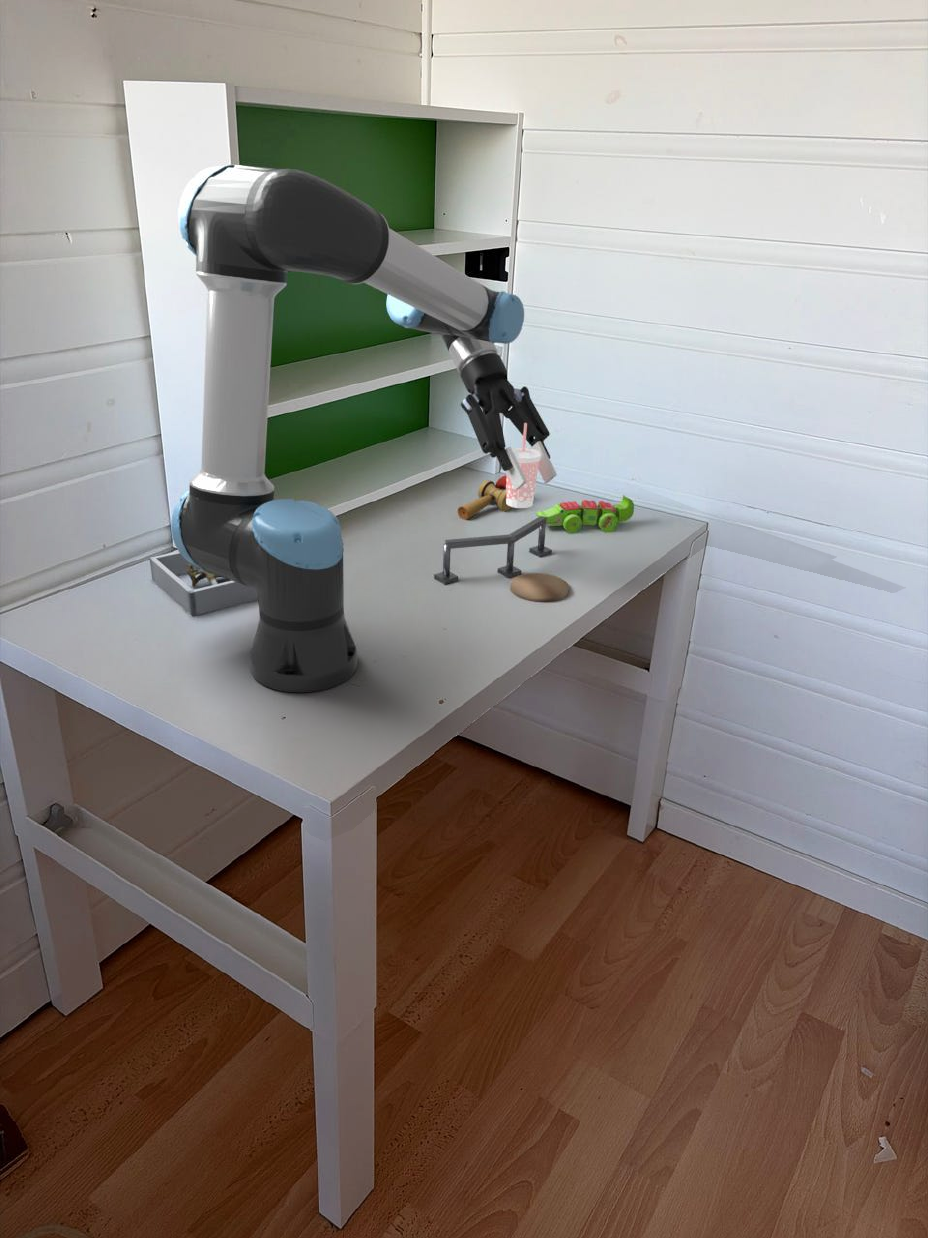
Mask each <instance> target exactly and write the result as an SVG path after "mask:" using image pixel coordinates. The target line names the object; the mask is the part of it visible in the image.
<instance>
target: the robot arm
mask: <svg viewBox="0 0 928 1238" xmlns="http://www.w3.org/2000/svg"><path fill="white" fill-rule="evenodd" d="M178 226H179V230H180V231H179V232H180V234H181V237H182V239H183V240H185V242H186V247H187V248H188V249H189V250H190V251H191V253H192V254H193V255H195V256H196V257H195V259H196V260H195V275H196V276H197V277H198V278H199V279H200V280H201V282H202V283H203V284H204V286H205V288H206V291H207V294H206V295H207V297H206V319H205V320H206V321H205V322H206V323H205V325H206V326H205V327H206V328H205V349H204V351H205V353H204V354H205V355H204V382H203V383H204V385H203V408H202V409H203V413H202V415H203V416H202V443H201V466H200V467H201V469H200V470H199V472H197V473H196V474H195V475H193V476H192V477H191V478H190V480H189V490H187V491H186V492H184V494H182V495H181V496H180V497H179V501H180V502H179V503H178V504H176V505H175V506H174V508H173V511H172V516H171V522H170V523H171V524H170V529H171V531H170V532H171V535H172V536H171V537H172V539H173V540H172V541H173V543H174V545H175V547H176V549H177V552H179V553H180V554H181V555H182V556H183V557H184V558H185V559H186V560H187V561H188V562H190V563H192V564H194V565H196V566H198V567H199V568H200V569H202V570H204V571H205V572H208V573H210V574H215V575H219V576H221V577H220V578H222V577H224V578H223V579H225V578H226V579H225V580H228V579H229V580H228V581H231V580H232V581H234V582H237V583H240V584H242V585H245V586H248V587H250V588H253V589H255V590H257V592H258V599H257V600H258V608H259V609H258V612H259V613H258V614H259V622H258V624H257V629H256V631H255V636H254V639H253V643H252V646H251V649H250V652H249V666H250V674H251V675H252V677H253V678H254V679H255V680H256V681H257V682H258V683H259V684H261V685H263V686H265V687H268V688H269V689H270V688H271V689H274V690H277V691H281V692H289V693H309V692H319V691H324V690H327V689H330V688H333V687H336V686H339V685H341V684H343V683H344V682H346V681H347V680H349V679H350V678H351V677H352V676H353V675H354V674H355V672H356V671H357V669H358V668H357V667H358V649H357V645H356V643H355V640H354V638H353V634H352V632H351V631H350V628H349V624H348V623H347V620H346V617H345V611H344V610H345V609H344V608H345V606H344V605H345V604H344V600H345V599H344V598H345V597H344V595H345V594H344V592H345V591H344V587H345V586H344V584H345V583H344V544H345V543H344V540H343V536H342V528H341V523H340V521H339V519H338V517H337V516H336V515H335V514H334V513H333V512H332V511H331V510H329V509H328V508H326V507H325V506H323V505H320V504H318V503H316V502H312V501H308V500H304V499H303V500H302V499H301V500H295V499H293V498H281V499H275V496H274V495H275V485H274V484H273V483H272V482H271V481H270V479H268V478H267V476H266V474H265V469H266V467H265V466H266V451H267V450H266V448H267V432H268V431H267V429H268V415H269V414H268V411H269V396H270V395H269V394H270V381H271V380H270V379H271V378H270V375H271V364H272V363H271V361H272V345H273V344H272V343H273V341H272V340H273V329H274V328H273V327H274V326H273V323H274V307H275V306H274V305H275V298H276V296H277V295H278V293H280V292H281V291H282V290H284V288H286V286H287V283H288V271H290V272H300V273H301V272H302V273H307V274H308V273H309V274H315V275H316V274H317V275H321V276H322V275H324V276H327V277H332V278H336V279H339V280H340V281H342V282H344V283H346V284H350V285H360V284H363V283H364V284H366V285H369V286H371V287H373V289H376V290H378V291H380V292H383V293H384V294H385V295H386V294H387V296H386V304H385V305H386V306H385V307H386V311H387V314H388V315H389V318H390V319H391V320H392V321H393V323H395V324H397V325H399V326H403V327H404V328H405V329H413V330H417V331H421V332H427V333H430V334H432V335H433V334H434V335H439V336H440V337H441V339H442V341H443V342H444V345H445V347H446V349H447V352H448V353H449V355H450V357H451V359H452V361H453V365H455V368H456V370H457V372H458V373H460V374H459V375H460V376H459V377H460V378H461V380H462V383H463V385H464V386H465V390H466V391H467V392H468V393H469V394H468V395H466V397H464V399H463V400H462V401H461V402H460V406H461V408H462V410H463V411H464V413H466V415H467V417H468V419H469V422H470V424H471V427H472V429H473V432H474V433H475V434H474V435H475V437H476V439H477V441H478V443H479V445H480V448H481V451H482V453H483V454H484V455H485V454H489V453H490V454H489V456H490V457H491V458H492V459H494V458H497V461H498V463H499V465H500V467H501V469H502V471H504V472H506V473H507V474H508V476H509V478H510V480H511V482H512V484H513V487H514V489H515V490H518V489H519V488H521V487H522V486H523V485H524V484H525V483H526V482H527V480H526V478H525V476H524V474H523V472H522V470H521V468H520V465H519V463H518V461H517V459H516V457H515V455H514V453H513V451H512V449H511V448H512V447H511V446H509V447H507V445H506V442H505V436H504V431H503V426H502V420H501V415H500V414H502V415H503V416H504V417H505V418H506V419H509V420H510V422H511V423H512V425H514V427H515V428H516V429H517V430H518V432H519V433H520V434H521V435H522V436H523V433H524V423H527V431H526V443H528V444H529V445H530V447H531V448H530V449H534V450H537V451H539V452H541V460H540V461H539V465H538V471H539V473H540V474H539V475H540V476H541V477H542V480H543V482H544V484H546V483H550V481H551V480H553V479H554V478H555V477H557V476H558V474H557V471H556V469H555V467H554V465H553V464H552V461H551V455H550V453H549V451H548V448H547V447H546V445H545V442H544V441H545V440H546V439H547V438H548V437H550V436H551V433H550V431H549V429H548V427H547V425H546V424H545V422H544V420H543V418H542V417H541V415H540V413H539V411H538V410H537V408H536V406H535V404H534V402H533V401H532V398H531V396H530V392H529V388H528V387H527V386H526V385H525V386H522V387H521V388H515V387H514V386H513V384H512V383H511V382H510V381H509V379H508V370H507V368H506V366H505V364H504V361H503V360H502V357H501V356H500V355H499V354H498V348H497V347H496V345H495V344H496V343H497V344H503V345H504V344H506V345H507V344H511V343H513V342H514V341H516V339H518V337H519V336H520V334H521V332H522V329H523V324H524V321H525V308H524V304H523V302H522V300H521V299H520V297H519V296H518V295H516V294H513V293H508V292H506V291H504V290H503V291H502V290H501V291H495V290H492V289H490V288H488V287H486V286H485V285H484V284H481V283H480V282H477V281H476V280H474V279H472V278H471V277H470V276H468V275H466V274H464V273H463V272H462V271H460V270H458V269H456V268H455V267H453V266H452V265H450V264H448V263H447V262H445V261H443V260H442V259H440V258H439V257H437V256H435V255H434V254H432V253H430V252H429V251H427V250H425V249H424V248H422V247H421V246H419V245H417V244H416V243H414V242H412V241H411V240H409V239H408V238H406V237H405V236H402V235H401V234H399V233H398V232H396V231H394V229H391V228H390V227H389V223H388V222H387V219H386V218H385V216H384V215H383V214H382V213H381V212H379V211H378V210H376V209H375V208H373V207H372V206H370V205H369V204H367V203H365V202H364V201H362V200H360V199H358V198H357V197H356V196H354V195H352V194H351V193H349V192H347V191H346V190H344V189H342V188H340V187H338V186H336V185H334V184H333V183H332V182H328V181H327V180H326V179H324V178H320V177H319V176H317V175H315V174H311V173H309V172H306V171H303V170H300V169H291V168H273V167H272V168H271V167H262V166H251V165H250V166H249V165H240V164H228V165H220V166H219V165H217V166H210V167H208V168H205V169H203V170H201V171H200V172H198V173H197V174H196V175H195V176H194V178H192V179H191V180H190V181H188V183H187V185H186V187H185V188H184V191H183V192H182V195H181V198H180V202H179V207H178Z"/></svg>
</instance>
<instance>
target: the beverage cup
mask: <svg viewBox="0 0 928 1238" xmlns="http://www.w3.org/2000/svg"><path fill="white" fill-rule="evenodd" d="M526 431H527V423H524V433H523V435H522V445H521V446H522V447H511V449H512V451H513V453H514V455H515V457H516V459H517V461H518V463H519V465H520V468H521V470H522V472H523V474H524V476H525V478H526V480H527V482H526V483H525V484H524V485H523V486H522V487H521V488H519V489H518V490H515V489H514V487H513V484H512V482H511V480H510V478H509V476H508V474H507V472H506V474H505V475H506V504H507V505H508V506H511V508H515V509H527V508H531V507H532V506H533V505H534V497H535V490H536V486H537V485H536V483H537V479H538V471H539V470H538V465H539V461H540V460H541V452H539V451H537V450H534V449H530V448H529V447H526V443H527V440H526Z"/></svg>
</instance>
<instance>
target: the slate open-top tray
mask: <svg viewBox="0 0 928 1238" xmlns="http://www.w3.org/2000/svg"><path fill="white" fill-rule="evenodd" d="M149 564H150V572H151V580H152V581H153V582H154V583H155V584H157V586H159V587H160V588H161V589H162V590H163V591H164V592H165V593H166V594H167V595H168V596H169V597H170V598H171V599H173V600H174V601H175V602H176V603H177V604H178V605H179V606H180V607H182V608H183V609H184V610H185V611H186V612H187V613H188V614H189V615H190V616H191V617H194V616H198V615H202V614H205V613H209V612H214V611H217V610H221V609H225V608H229V607H233V606H237V605H240V604H244V603H248V602H252V601H257V600H258V592H257V590H255V589H253V588H250V587H248V586H245V585H242V584H240V583H237V582H234V581H231V580H227V581H225V582H221V583H217V584H216V585H212V584H211V585H207V586H204V587H200V588H195V589H192V588H191V587H189V586H188V585H187V584H186V583H185V582H184V581H182V580H181V579H180V578H179V576H181V575H188V574H187V570H188V566H187V565H186V564H188V565H193V568H194V570H197V569H198V568H199V567H198V566H196V565H194V564H192V563H190V562H188V561H187V560H186V559H185V558H184V557H183V556H182V555H181V554H180V553H179V551H175V552H170V553H166V554H165V553H164V554H160V555H157V556H152V557H149ZM188 571H189V570H188Z"/></svg>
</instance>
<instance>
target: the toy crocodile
mask: <svg viewBox="0 0 928 1238" xmlns="http://www.w3.org/2000/svg"><path fill="white" fill-rule="evenodd" d="M634 510H635V504H634V502H633V500H632V499H630V498H629V497H628V496H626V495H624V494H623V495H622V500H621V502H619V503H618V504H612V503H610V502H605V501H602V500H600V501H599V502H598V503H597V502H596V501H595V500H586V499H585V500H582V501H581V504H578V503H577V502H576V501H575V500H572V501H566V502H565V501H564V502H563V501H562V502H560V503H559V504H558V503H555V504H554V506H553V507H550V508H548V509H544V510H538V511H537V512H536V517H537V518H538V517H540V516H544V517H547V519H546V527H552V526H553V527H556V526H557V527H558V526H562V527H563V528H564V530H565V531H566V532H567V533H570V534H576V533H578V532H579V531H580V530H581V529H582V527H583V526H596V525H597V524H598V526H599V528H600V529H601V530H602V531H603V532H604V533H613V532H615V531H616V530H617V528H618V527H619V524H620V523H623V522H626V521H628V520H630V519H631V518H632V517H633V516H634Z"/></svg>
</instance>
